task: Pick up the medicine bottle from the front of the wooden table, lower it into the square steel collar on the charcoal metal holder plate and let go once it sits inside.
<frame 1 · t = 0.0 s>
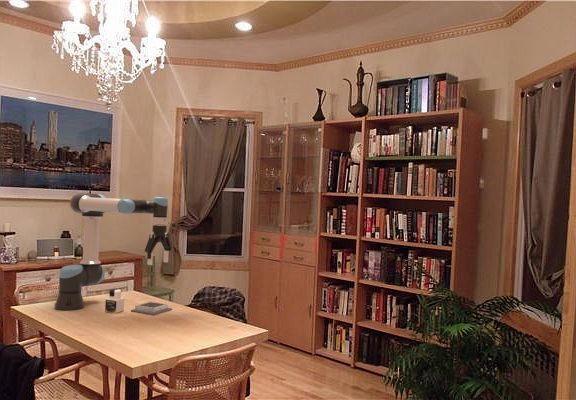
hand: (157, 263, 258), 28 cm above the table, tool pointing down, fingers open, 13 cm apart
medicine bottle: (114, 311, 261), on the table
square holder: (151, 310, 266), on the table
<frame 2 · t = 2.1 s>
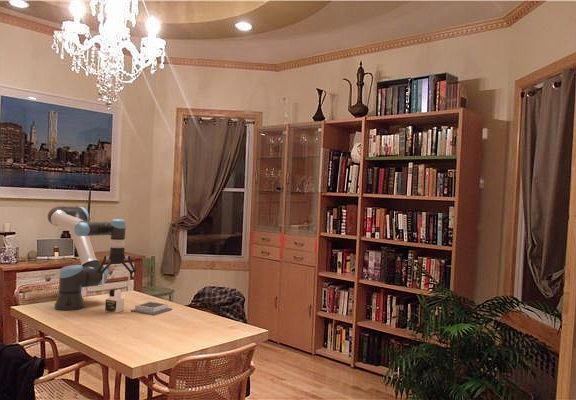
hand: (115, 285, 261), 14 cm above the table, tool pointing down, fingers open, 13 cm apart
nothing on the table moved.
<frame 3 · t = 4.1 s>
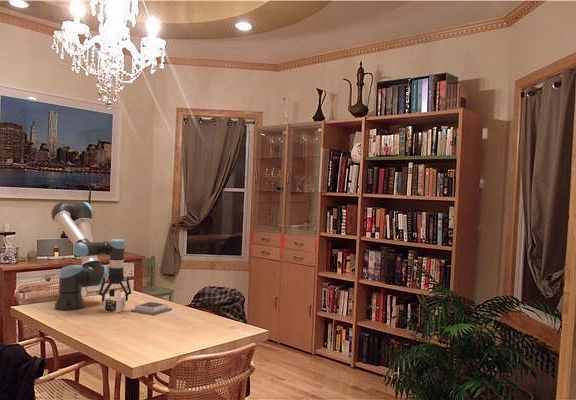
hand: (114, 307, 261), 2 cm above the table, tool pointing down, fingers closed on medicine bottle, 10 cm apart
medicine bottle: (114, 311, 261), on the table, touching gripper
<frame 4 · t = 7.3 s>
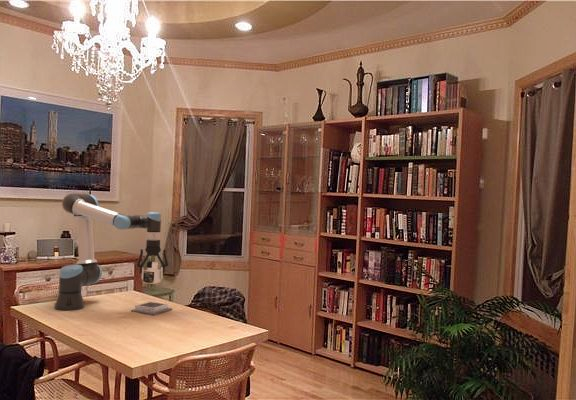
hand: (151, 278, 266), 18 cm above the table, tool pointing down, fingers closed on medicine bottle, 10 cm apart
medicine bottle: (151, 283, 265), point 16 cm above the table, touching gripper
when the fingers open (5 cm above the table, at t = 10.4 s): medicine bottle drops 2 cm, resting on square holder.
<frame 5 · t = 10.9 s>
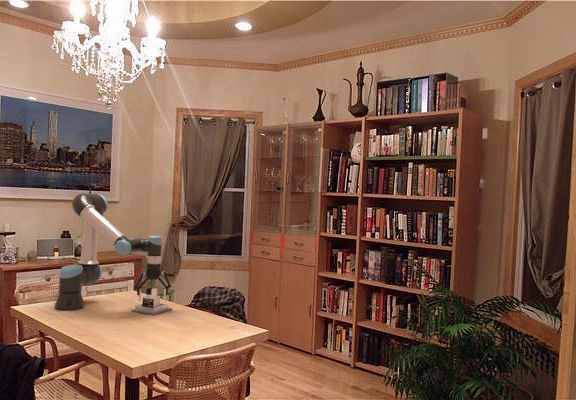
hand: (152, 300, 266), 6 cm above the table, tool pointing down, fingers open, 13 cm apart
medicine bottle: (150, 309, 266), point 1 cm above the table, touching square holder
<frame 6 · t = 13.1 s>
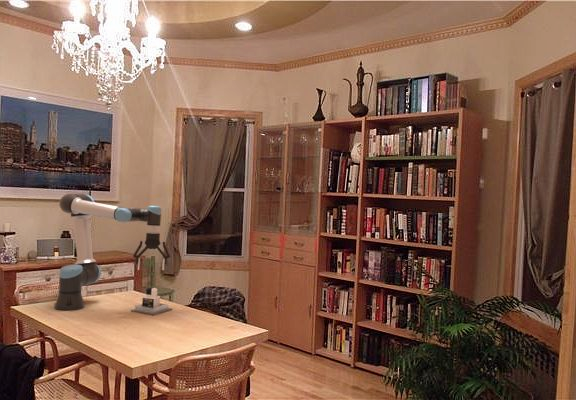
hand: (150, 269, 268), 23 cm above the table, tool pointing down, fingers open, 13 cm apart
nothing on the table moved.
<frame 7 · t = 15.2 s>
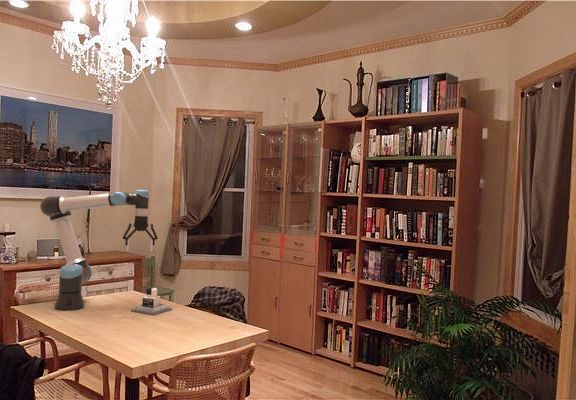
hand: (139, 251, 281), 32 cm above the table, tool pointing down, fingers open, 13 cm apart
nothing on the table moved.
at the end: medicine bottle 0.4 cm off-centre on the square holder, point 0.6 cm above the square holder's base; medicine bottle tilted 0°; the gripper is holding nothing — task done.
